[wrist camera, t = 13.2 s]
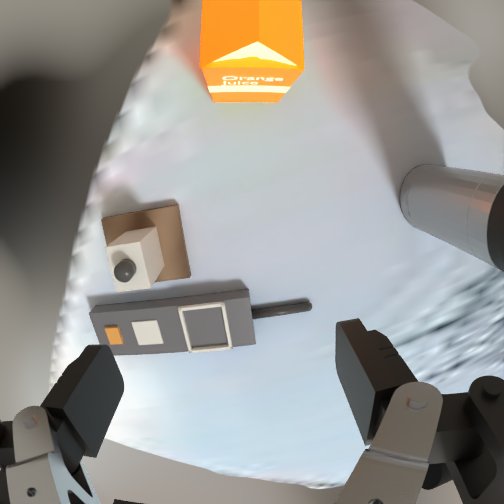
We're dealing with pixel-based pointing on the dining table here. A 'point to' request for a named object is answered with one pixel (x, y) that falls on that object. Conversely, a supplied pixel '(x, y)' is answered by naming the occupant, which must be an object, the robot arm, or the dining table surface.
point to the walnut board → (167, 233)
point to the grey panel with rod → (182, 323)
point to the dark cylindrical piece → (436, 476)
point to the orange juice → (251, 48)
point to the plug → (135, 259)
